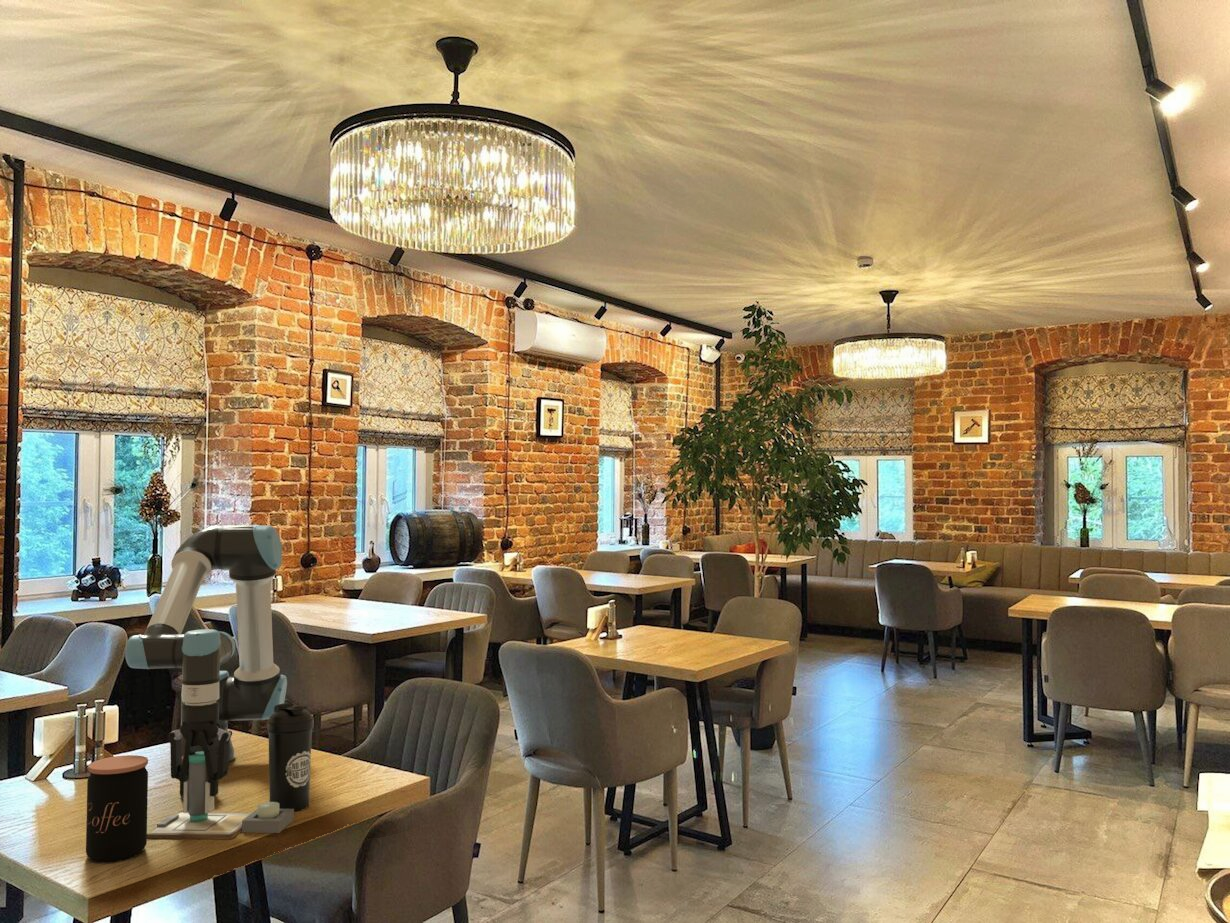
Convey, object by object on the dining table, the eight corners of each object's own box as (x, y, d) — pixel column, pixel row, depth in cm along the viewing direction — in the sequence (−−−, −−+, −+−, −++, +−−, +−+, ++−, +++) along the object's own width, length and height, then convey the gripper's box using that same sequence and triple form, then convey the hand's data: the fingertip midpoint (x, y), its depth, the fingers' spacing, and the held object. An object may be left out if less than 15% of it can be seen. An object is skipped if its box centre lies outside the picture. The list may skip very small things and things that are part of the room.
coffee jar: (72, 862, 183) (74, 768, 184) (111, 842, 194) (113, 753, 195) (121, 866, 181) (123, 771, 182) (158, 846, 192) (159, 756, 193)
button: (262, 815, 206) (262, 801, 206) (282, 816, 206) (282, 802, 206) (253, 822, 201) (254, 808, 202) (274, 822, 201) (274, 808, 201)
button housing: (257, 819, 208) (257, 808, 208) (293, 820, 207) (293, 808, 207) (241, 832, 200) (241, 820, 200) (279, 833, 199) (279, 821, 199)
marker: (193, 815, 208) (194, 751, 208) (213, 815, 207) (213, 751, 208) (184, 822, 203) (185, 756, 204) (204, 822, 203) (204, 756, 204)
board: (179, 815, 210) (179, 808, 211) (259, 816, 210) (259, 809, 210) (145, 838, 196) (146, 830, 197) (230, 839, 196) (231, 831, 196)
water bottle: (282, 817, 209) (284, 712, 210) (256, 808, 216) (258, 706, 216) (321, 805, 217) (323, 704, 218) (295, 797, 224) (296, 698, 225)
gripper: (153, 705, 203) (150, 816, 202) (231, 706, 202) (229, 817, 201) (171, 698, 210) (169, 805, 209) (246, 698, 210) (245, 805, 209)
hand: (198, 810), depth 205 cm, fingers closed on marker, 4 cm apart
